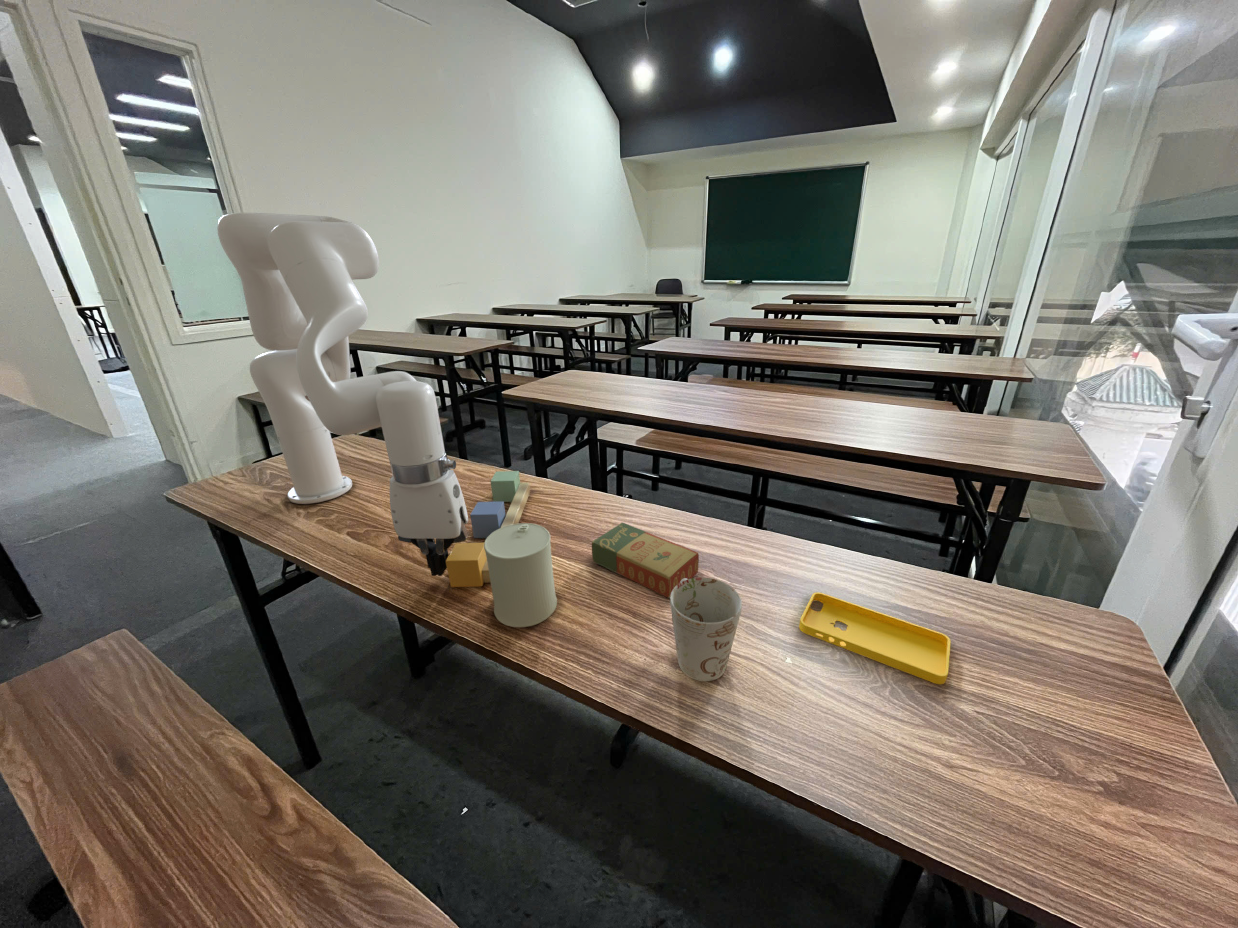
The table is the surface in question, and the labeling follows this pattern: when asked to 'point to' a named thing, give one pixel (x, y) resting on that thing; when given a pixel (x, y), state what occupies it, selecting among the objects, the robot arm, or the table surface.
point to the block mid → (487, 518)
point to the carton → (645, 558)
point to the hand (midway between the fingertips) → (440, 570)
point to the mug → (704, 625)
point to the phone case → (879, 637)
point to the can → (521, 574)
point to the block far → (505, 485)
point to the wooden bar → (511, 517)
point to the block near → (466, 564)
